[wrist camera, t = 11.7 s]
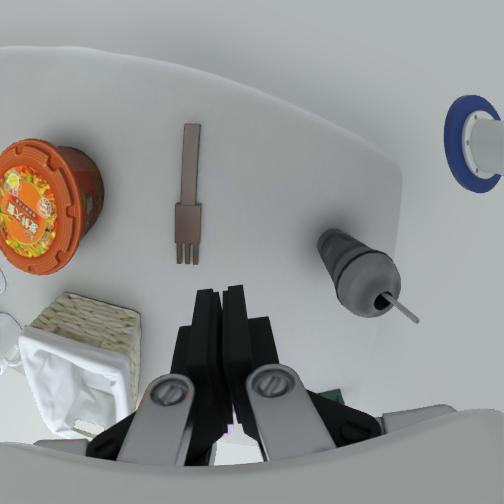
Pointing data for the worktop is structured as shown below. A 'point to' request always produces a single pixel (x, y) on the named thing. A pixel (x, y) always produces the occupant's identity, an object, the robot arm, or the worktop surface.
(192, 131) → the salad fork
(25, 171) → the food container
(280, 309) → the worktop surface
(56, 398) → the basket
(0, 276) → the cosmetic bottle
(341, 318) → the worktop surface
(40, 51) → the worktop surface
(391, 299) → the beverage cup
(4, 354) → the mug
